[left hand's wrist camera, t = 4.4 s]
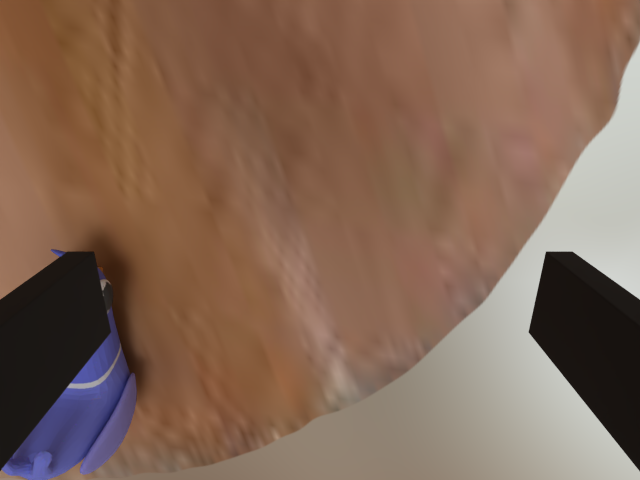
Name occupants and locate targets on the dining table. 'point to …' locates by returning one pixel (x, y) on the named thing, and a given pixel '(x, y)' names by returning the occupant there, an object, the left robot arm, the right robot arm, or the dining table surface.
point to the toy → (83, 413)
